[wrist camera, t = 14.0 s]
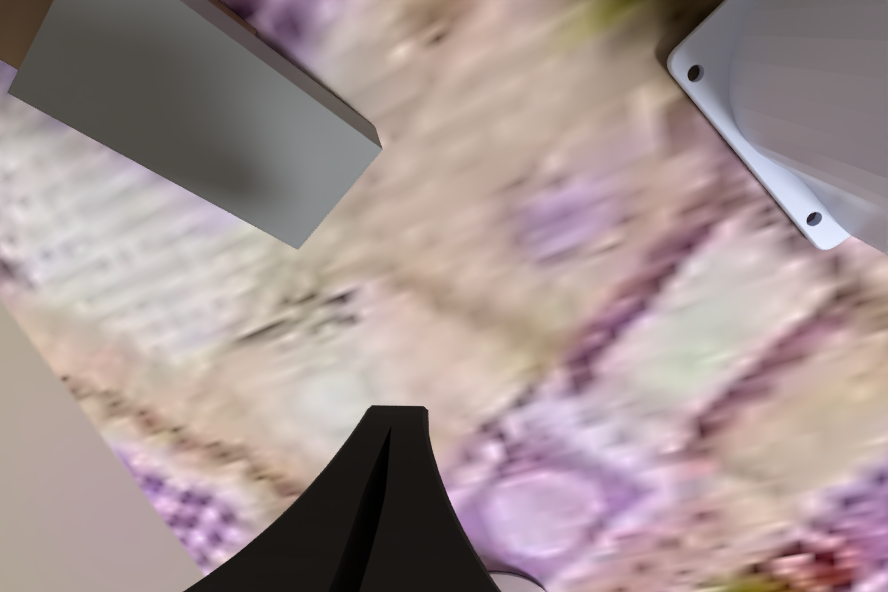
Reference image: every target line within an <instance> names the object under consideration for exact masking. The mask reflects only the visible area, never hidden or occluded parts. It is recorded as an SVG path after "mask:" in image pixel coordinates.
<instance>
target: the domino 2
mask: <svg viewBox="0 0 888 592" xmlns="http://www.w3.org/2000/svg"><path fill="white" fill-rule="evenodd" d="M7 93H9V94H11V95H13V96H14V97H16V98H18V99H20V100H22V101H24V102H26V103H27V104H29V105H31V106H33V107H35V108H37V109H39V110H40V111H42V112H44V113H46V114H48V115H50V116H51V117H53V118H55V119H57V120H59V121H61V122H63V123H64V124H66V125H68V126H70V127H72V128H74V129H76V130H77V131H79V132H81V133H83V134H85V135H87V136H88V137H90V138H92V139H94V140H96V141H98V142H100V143H101V144H103V145H105V146H107V147H109V148H111V149H113V150H114V151H116V152H118V153H120V154H122V155H124V156H125V157H127V158H129V159H131V160H133V161H135V162H137V163H138V164H140V165H142V166H144V167H146V168H148V169H150V170H151V171H153V172H155V173H157V174H159V175H161V176H162V177H164V178H166V179H168V180H170V181H172V182H174V183H175V184H177V185H179V186H181V187H183V188H185V189H187V190H188V191H190V192H192V193H194V194H196V195H198V196H199V197H201V198H203V199H205V200H207V201H209V202H211V203H212V204H214V205H216V206H218V207H220V208H222V209H224V210H225V211H227V212H229V213H231V214H233V215H235V216H236V217H238V218H240V219H242V220H244V221H246V222H248V223H249V224H251V225H253V226H255V227H257V228H259V229H261V230H262V231H264V232H266V233H268V234H270V235H272V236H273V237H275V238H277V239H279V240H281V241H283V242H285V243H286V244H288V245H290V246H292V247H294V248H296V249H299V248H300V247H301V246H302V245H303V243H304V242H305V241H306V240H307V239H308V237H309V236H310V235H311V234H312V233H313V231H314V230H315V229H316V228H317V227H318V226H319V224H320V223H321V222H322V221H323V220H324V218H325V217H326V216H327V215H328V214H329V212H330V211H331V210H332V209H333V208H334V207H335V205H336V204H337V203H338V202H339V201H340V199H341V198H342V197H343V196H344V195H345V194H346V192H347V191H348V190H349V189H350V188H351V186H352V185H353V184H354V183H355V182H356V180H357V179H358V178H359V177H360V176H361V175H362V173H363V172H364V171H365V170H366V169H367V167H368V166H369V165H370V164H371V163H372V161H373V160H374V159H375V158H376V157H377V156H378V154H379V153H380V152H381V151H382V150H383V149H382V146H381V143H380V140H379V137H378V134H377V131H376V128H375V127H374V126H373V125H372V124H370V123H369V122H368V121H366V120H365V119H364V118H362V117H361V116H360V115H358V114H357V113H356V112H354V111H353V110H352V109H350V108H349V107H348V106H347V105H345V104H344V103H343V102H341V101H340V100H339V99H337V98H336V97H335V96H333V95H332V94H331V93H329V92H328V91H327V90H325V89H324V88H323V87H321V86H320V85H319V84H317V83H316V82H315V81H314V80H312V79H311V78H310V77H308V76H307V75H306V74H304V73H303V72H302V71H300V70H299V69H298V68H296V67H295V66H294V65H292V64H291V63H290V62H288V61H287V60H286V59H284V58H283V57H282V56H280V55H279V54H278V53H277V52H275V51H274V50H273V49H271V48H270V47H269V46H267V45H266V44H265V43H263V42H262V41H261V40H259V39H258V38H257V37H255V36H254V35H253V34H251V33H250V32H249V31H247V30H246V29H245V28H244V27H242V26H241V25H240V24H238V23H237V22H236V21H234V20H233V19H232V18H230V17H229V16H228V15H226V14H225V13H224V12H222V11H221V10H220V9H218V8H217V7H216V6H214V5H213V4H212V3H211V2H209V1H208V0H54V1H53V3H52V5H51V7H50V9H49V11H48V13H47V15H46V17H45V19H44V21H43V23H42V25H41V27H40V29H39V30H38V32H37V34H36V36H35V38H34V40H33V42H32V44H31V46H30V48H29V50H28V52H27V54H26V56H25V58H24V60H23V62H22V64H21V66H20V68H19V70H18V72H17V74H16V76H15V78H14V80H13V82H12V84H11V86H10V88H9V90H8V92H7Z"/></svg>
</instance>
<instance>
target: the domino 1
mask: <svg viewBox="0 0 888 592" xmlns="http://www.w3.org/2000/svg"><path fill="white" fill-rule="evenodd" d="M53 1H54V0H0V60H2V61H4V62H6V63H7V64H9V65H11V66H12V67H14V68H16V69H18V70H19V68H20V66H21V64H22V62H23V60H24V58H25V56H26V54H27V52H28V50H29V48H30V46H31V44H32V42H33V40H34V38H35V36H36V34H37V32H38V30H39V29H40V27H41V25H42V23H43V21H44V19H45V17H46V15H47V13H48V11H49V9H50V7H51V5H52V3H53ZM208 1H209V2H211V3H212V4H213V5H214V6H216V7H217V8H218V9H220V10H221V11H222V12H224V13H225V14H226V15H228V16H229V17H230V18H232V19H233V20H234V21H236V22H237V23H238V24H240V25H241V26H242V27H244V28H245V29H246V30H247V31H249V32H250V33H251V34H253V35H254V36H255V34H256V29H255V28H253V27H252V26H251V25H249V24H248V23H247V22H246V21H244V20H243V19H242V18H240V17H239V16H238V15H236V14H235V13H234V12H233V11H231V10H230V9H229V8H227V7H226V6H225V5H223V4H222V3H221V2H220V1H218V0H208Z"/></svg>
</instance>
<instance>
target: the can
mask: <svg viewBox="0 0 888 592" xmlns="http://www.w3.org/2000/svg"><path fill="white" fill-rule="evenodd" d="M489 574H490V576H491V577H492V579H493V580H494V582H495V583H496V585H497V586H498V588H499V589H500V590H501V592H545V591H544V590H543V589H542V588H540V587H539V586H538V585H537V584H536V583H534V582H533V581H531V580H529V579H527V578H525V577H523V576H520V575H517V574H513V573H507V572H489Z"/></svg>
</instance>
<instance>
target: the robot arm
mask: <svg viewBox="0 0 888 592" xmlns="http://www.w3.org/2000/svg"><path fill="white" fill-rule="evenodd" d="M694 65H697V66H699V69H700V72H699V75H698V77H697V78H696V79H695V80H693V81H690V80H689V79H688V77H687V74H688V71H689V69H690V68H691V67H692V66H694ZM667 68H668V70H669V72H670V74H671V75H672V76H673V78H674V79H675V80H676V81H677V82H678V84H679V85H680V86H681V87H682V88H683V90H684V91H685V92H686V93H687V94H688V96H689V97H690V98H691V99H692V100H693V102H694V103H695V104H696V105H697V106H698V108H699V109H700V110H701V111H702V112H703V114H704V115H705V116H706V117H707V119H708V120H709V121H710V122H711V123H712V125H713V126H714V127H715V128H716V129H717V131H718V132H719V133H720V134H721V135H722V137H723V138H724V139H725V140H726V141H727V143H728V144H729V145H730V146H731V147H732V149H733V150H734V151H735V152H736V153H737V155H738V156H739V157H740V158H741V159H742V161H743V162H744V163H745V164H746V166H747V167H748V168H749V169H750V170H751V172H752V173H753V174H754V175H755V176H756V178H757V179H758V180H759V181H760V182H761V184H762V185H763V186H764V187H765V188H766V190H767V191H768V192H769V193H770V194H771V196H772V197H773V198H774V199H775V200H776V202H777V203H778V204H779V205H780V207H781V208H782V209H783V210H784V211H785V213H786V214H787V215H788V216H789V217H790V219H791V220H792V221H793V222H794V223H795V225H796V226H797V227H798V228H799V229H800V231H801V232H802V233H803V234H804V235H805V237H806V238H807V239H808V240H809V241H810V243H811V244H813V245H814V246H815V247H817V248H819V249H821V250H828V249H831V248H833V247H835V246H837V245H838V244H839V243H841V242H842V241H844V240H845V239H846V238H848V237H849V236H850V235H852V236H854V237H856V238H857V239H859V240H861V241H863V242H865V243H866V244H868V245H870V246H872V247H874V248H876V249H877V250H879V251H881V252H883V253H885V254H887V255H888V0H724V1H723V2H722V3H721V4H720V5H719V6H718V7H717V8H716V9H715V10H714V11H713V12H712V13H711V14H710V15H709V16H708V17H707V18H706V19H705V20H704V21H703V22H701V23H700V24H699V25H698V26H697V27H696V28H695V29H694V30H693V31H692V32H691V33H690V34H689V35H688V36H687V37H686V38H685V39H684V40H683V41H682V42H681V43H680V44H679V45H677V46H676V47H675V48H674V49H673V51H672V52H671V53H670V55H669V57H668V60H667ZM813 212H816V215H815V218H814V219H813V220H812V221H810V222H808V223H807V222H806V220H807V217H808V216H809V215H810V214H811V213H813ZM184 592H501V590H500V589H499V588H498V586H497V585H496V583H495V582H494V580H493V579H492V577H491V576H490V574H489V572H488V571H487V569H486V568H485V566H484V564H483V563H482V561H481V560H480V558H479V556H478V555H477V553H476V552H475V550H474V548H473V546H472V545H471V543H470V541H469V539H468V537H467V535H466V534H465V532H464V530H463V528H462V526H461V524H460V522H459V520H458V518H457V516H456V513H455V511H454V509H453V507H452V505H451V502H450V500H449V497H448V495H447V492H446V490H445V487H444V485H443V482H442V479H441V476H440V474H439V471H438V467H437V464H436V461H435V457H434V454H433V450H432V446H431V442H430V437H429V420H428V410H427V409H426V408H425V407H424V406H379V405H372V406H371V407H370V408H368V409H367V411H366V413H365V414H364V416H363V417H362V419H361V420H360V422H359V423H358V425H357V426H356V428H355V429H354V431H353V432H352V434H351V435H350V436H349V438H348V439H347V440H346V442H345V443H344V445H343V446H342V447H341V448H340V450H339V451H338V452H337V454H336V455H335V456H334V457H333V459H332V460H331V461H330V463H329V464H328V465H327V466H326V468H325V469H324V470H323V471H322V472H321V473H320V474H319V476H318V477H317V478H316V479H315V480H314V481H313V482H312V484H311V485H310V486H309V487H308V488H307V489H306V490H305V492H304V493H303V494H302V495H301V496H300V497H299V498H298V499H297V500H296V501H295V502H294V503H293V504H292V505H291V506H290V507H289V508H288V509H287V510H286V511H285V512H284V513H283V514H282V515H281V516H280V517H279V518H278V519H277V520H276V521H275V522H273V523H272V524H271V525H270V526H269V527H268V528H267V529H266V530H264V531H263V532H262V533H261V534H260V535H259V536H258V537H256V538H255V539H254V540H253V541H252V542H251V543H249V544H248V545H247V546H246V547H245V548H243V549H242V550H241V551H240V552H238V553H237V554H236V555H235V556H233V557H232V558H231V559H229V560H228V561H226V562H225V563H224V564H222V565H221V566H220V567H218V568H217V569H216V570H214V571H213V572H211V573H210V574H209V575H207V576H206V577H204V578H203V579H202V580H200V581H199V582H197V583H196V584H194V585H193V586H191V587H190V588H188V589H187V590H185V591H184Z"/></svg>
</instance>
